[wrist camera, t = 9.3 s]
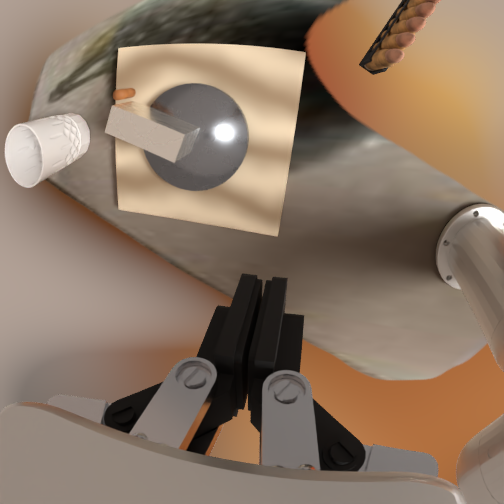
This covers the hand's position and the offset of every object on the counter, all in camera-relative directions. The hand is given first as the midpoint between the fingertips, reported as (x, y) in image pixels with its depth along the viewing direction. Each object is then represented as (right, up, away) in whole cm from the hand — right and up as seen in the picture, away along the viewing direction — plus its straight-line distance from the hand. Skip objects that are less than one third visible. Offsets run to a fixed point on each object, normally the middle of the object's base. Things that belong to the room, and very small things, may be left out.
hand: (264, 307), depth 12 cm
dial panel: (-6, +15, +22) cm, 27 cm away
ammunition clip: (+14, +25, +12) cm, 31 cm away
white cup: (-25, +18, +24) cm, 39 cm away
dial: (-8, +15, +20) cm, 26 cm away
